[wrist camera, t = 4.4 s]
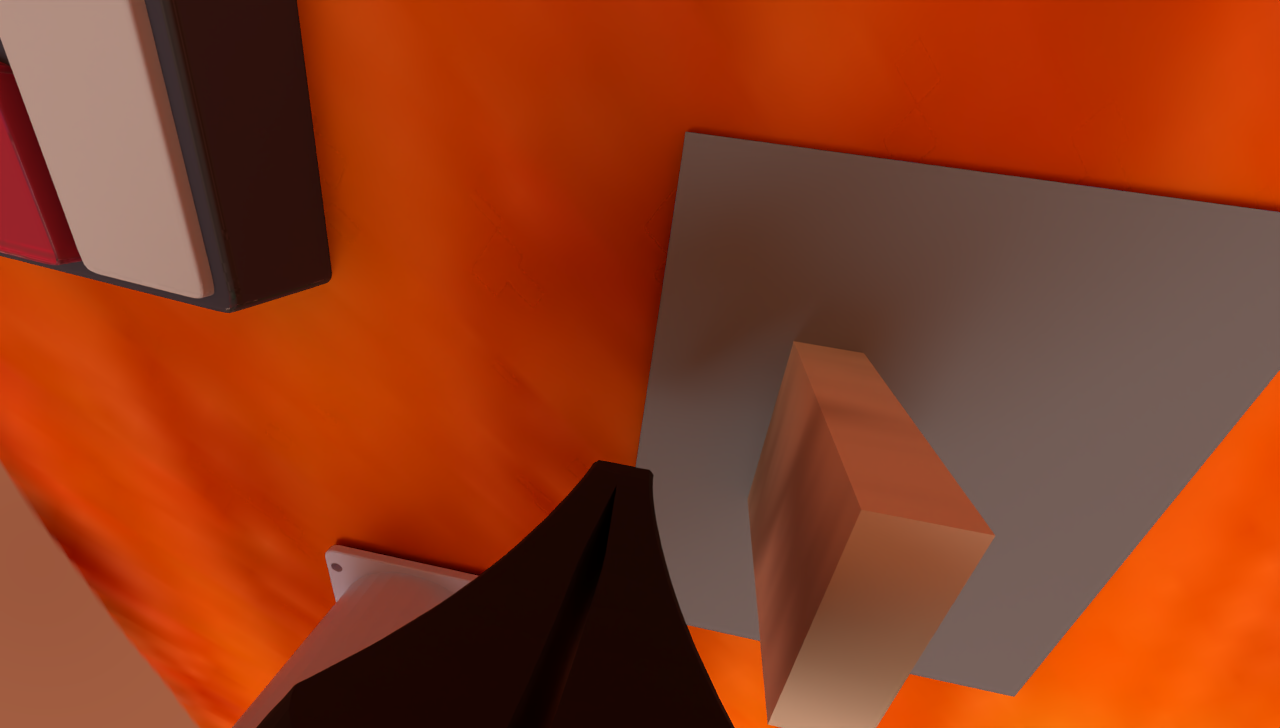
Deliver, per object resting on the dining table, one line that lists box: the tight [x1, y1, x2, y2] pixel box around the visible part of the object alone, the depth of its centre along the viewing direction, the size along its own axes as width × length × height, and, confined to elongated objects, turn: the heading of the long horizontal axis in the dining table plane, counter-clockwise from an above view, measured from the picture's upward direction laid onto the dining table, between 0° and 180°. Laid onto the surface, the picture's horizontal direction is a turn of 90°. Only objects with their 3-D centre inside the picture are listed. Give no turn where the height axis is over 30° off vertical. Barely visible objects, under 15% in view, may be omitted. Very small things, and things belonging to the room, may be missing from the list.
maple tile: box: [748, 341, 995, 728], centre depth 12 cm, size 6×2×7 cm, turn 173°
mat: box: [636, 132, 1280, 697], centre depth 15 cm, size 18×16×1 cm
